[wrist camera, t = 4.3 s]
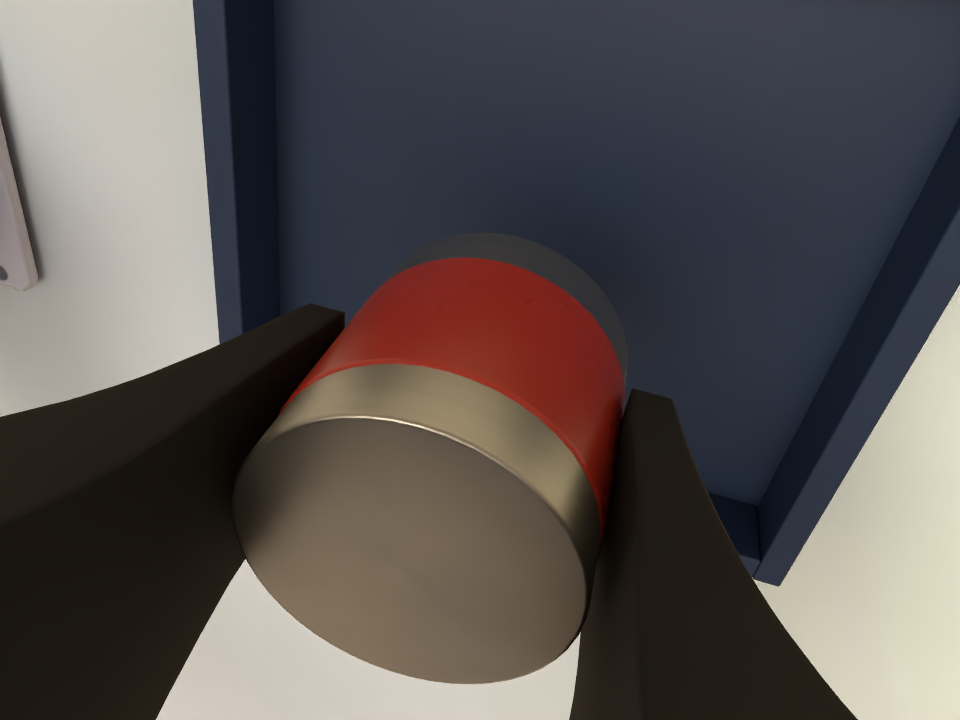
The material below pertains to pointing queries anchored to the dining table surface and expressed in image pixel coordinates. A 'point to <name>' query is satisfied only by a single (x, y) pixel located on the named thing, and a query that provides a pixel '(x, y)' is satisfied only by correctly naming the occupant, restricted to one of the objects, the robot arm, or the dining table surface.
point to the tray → (620, 194)
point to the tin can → (447, 466)
